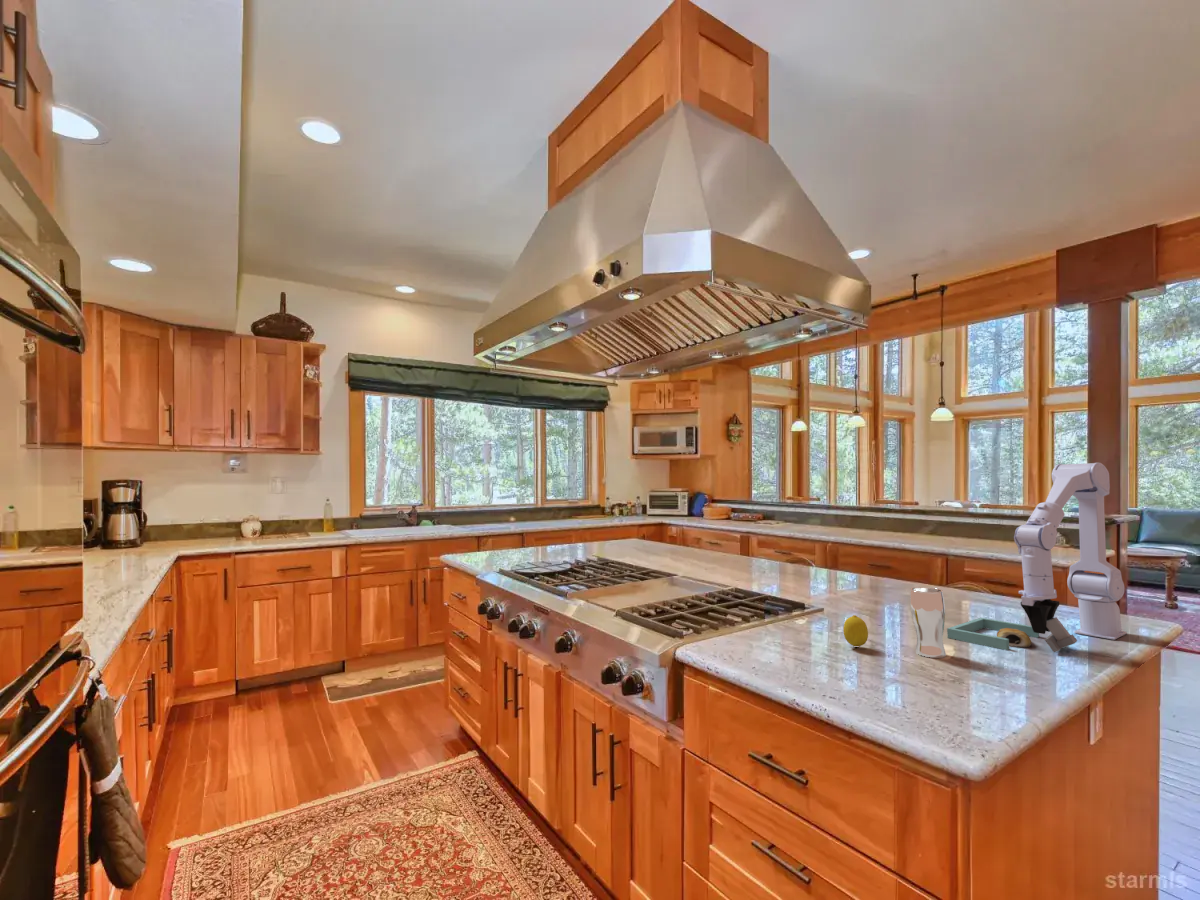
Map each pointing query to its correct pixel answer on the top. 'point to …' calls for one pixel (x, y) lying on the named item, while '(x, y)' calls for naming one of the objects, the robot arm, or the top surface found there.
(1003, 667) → the top surface
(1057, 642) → the pusher
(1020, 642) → the pastry
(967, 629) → the bay
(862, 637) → the lemon
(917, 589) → the beer glass
